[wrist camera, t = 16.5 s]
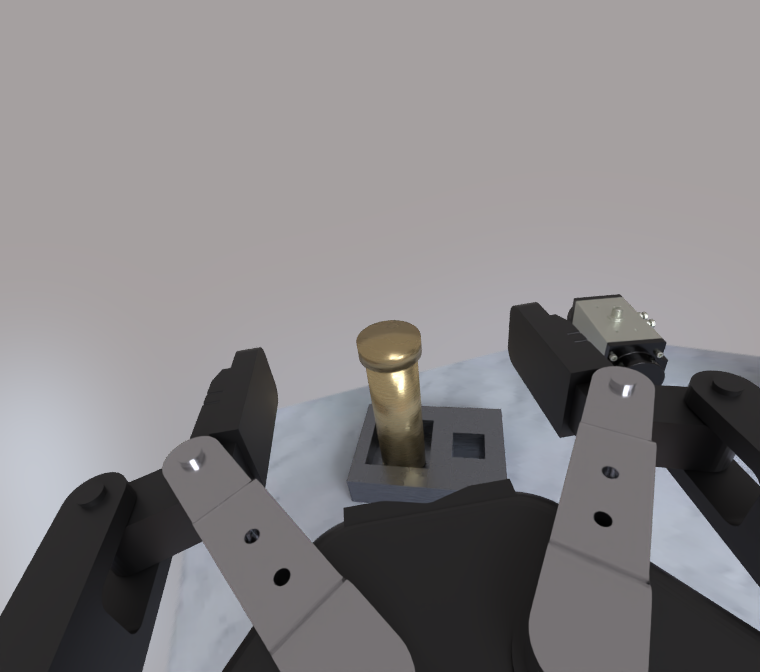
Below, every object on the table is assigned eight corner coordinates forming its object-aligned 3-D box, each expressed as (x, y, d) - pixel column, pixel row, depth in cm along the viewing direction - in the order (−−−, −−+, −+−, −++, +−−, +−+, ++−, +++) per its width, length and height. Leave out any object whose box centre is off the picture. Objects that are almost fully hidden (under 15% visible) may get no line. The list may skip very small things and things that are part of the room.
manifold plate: (500, 429, 43) (501, 409, 42) (506, 515, 35) (508, 494, 33) (373, 423, 46) (369, 404, 45) (352, 501, 38) (346, 481, 37)
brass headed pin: (431, 440, 42) (424, 320, 34) (426, 483, 38) (416, 358, 30) (383, 436, 44) (364, 320, 35) (373, 477, 39) (349, 356, 31)
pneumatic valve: (595, 443, 40) (620, 345, 34) (557, 370, 50) (570, 282, 43) (654, 440, 40) (691, 340, 33) (604, 366, 49) (624, 277, 43)
